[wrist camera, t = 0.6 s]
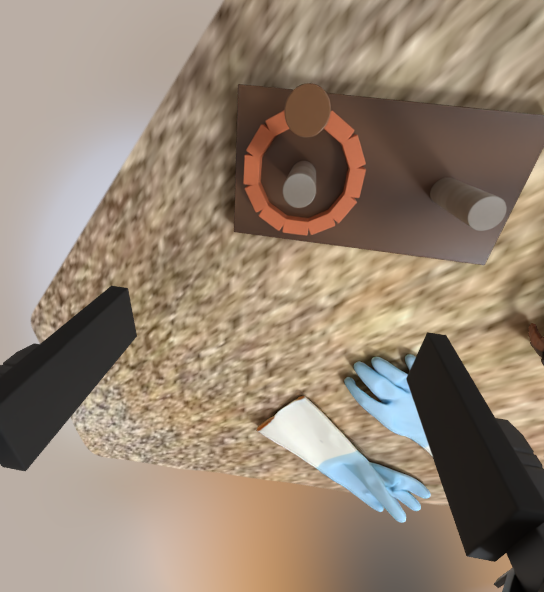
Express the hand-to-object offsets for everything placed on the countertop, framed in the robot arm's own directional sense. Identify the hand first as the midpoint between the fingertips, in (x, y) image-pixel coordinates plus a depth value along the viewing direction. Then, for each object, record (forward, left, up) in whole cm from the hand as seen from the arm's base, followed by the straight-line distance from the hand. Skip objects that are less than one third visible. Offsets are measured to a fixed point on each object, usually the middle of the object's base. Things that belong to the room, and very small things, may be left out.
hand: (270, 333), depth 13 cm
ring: (-4, 0, -20) cm, 20 cm away
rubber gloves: (+34, +19, -21) cm, 44 cm away
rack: (-4, +7, -21) cm, 23 cm away
